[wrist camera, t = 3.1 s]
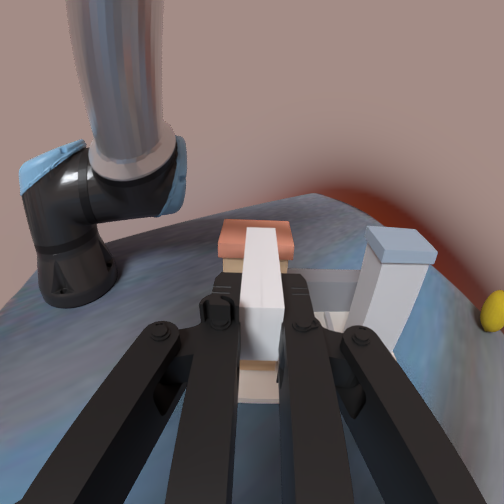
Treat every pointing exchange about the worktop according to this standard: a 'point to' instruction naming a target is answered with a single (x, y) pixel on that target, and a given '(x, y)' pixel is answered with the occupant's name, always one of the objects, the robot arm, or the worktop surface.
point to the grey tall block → (389, 280)
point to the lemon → (493, 312)
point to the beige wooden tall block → (233, 258)
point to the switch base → (325, 310)
